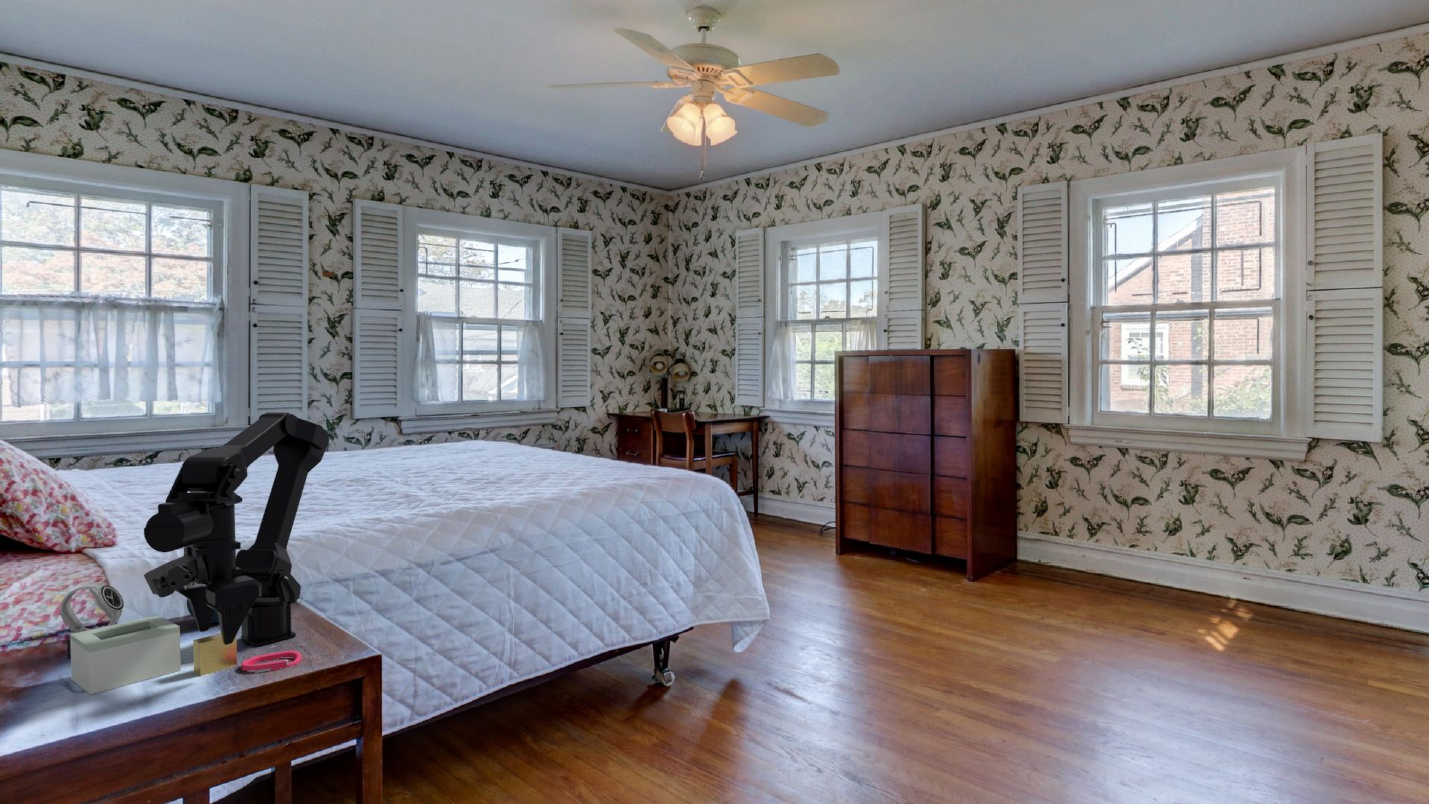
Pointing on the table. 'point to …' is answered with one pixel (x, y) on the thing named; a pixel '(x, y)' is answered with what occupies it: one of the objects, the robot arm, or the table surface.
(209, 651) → the block
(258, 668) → the fitness band
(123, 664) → the coin box
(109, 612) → the watch
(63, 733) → the table surface
